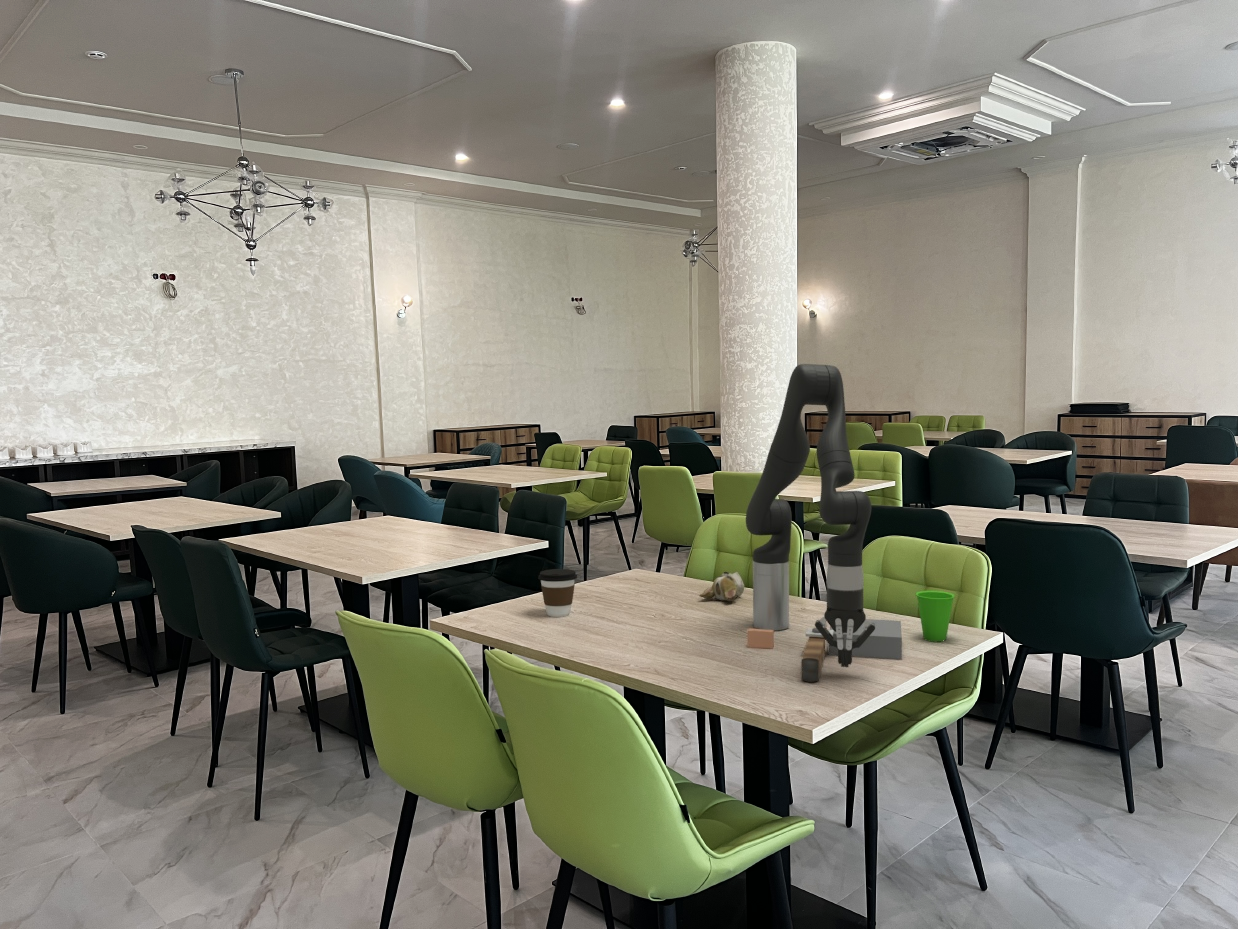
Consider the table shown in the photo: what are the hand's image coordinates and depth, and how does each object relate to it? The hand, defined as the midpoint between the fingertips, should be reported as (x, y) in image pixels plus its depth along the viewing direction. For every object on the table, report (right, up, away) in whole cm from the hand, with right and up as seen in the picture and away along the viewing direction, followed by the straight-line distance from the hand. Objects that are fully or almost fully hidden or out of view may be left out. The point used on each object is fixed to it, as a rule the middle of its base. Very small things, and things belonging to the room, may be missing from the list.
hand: (844, 666), depth 187 cm
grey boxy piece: (+1, -1, +22) cm, 22 cm away
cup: (+29, 0, +28) cm, 40 cm away
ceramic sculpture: (-16, +2, +76) cm, 77 cm away
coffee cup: (-65, +1, +59) cm, 88 cm away
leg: (-5, -1, +7) cm, 8 cm away
